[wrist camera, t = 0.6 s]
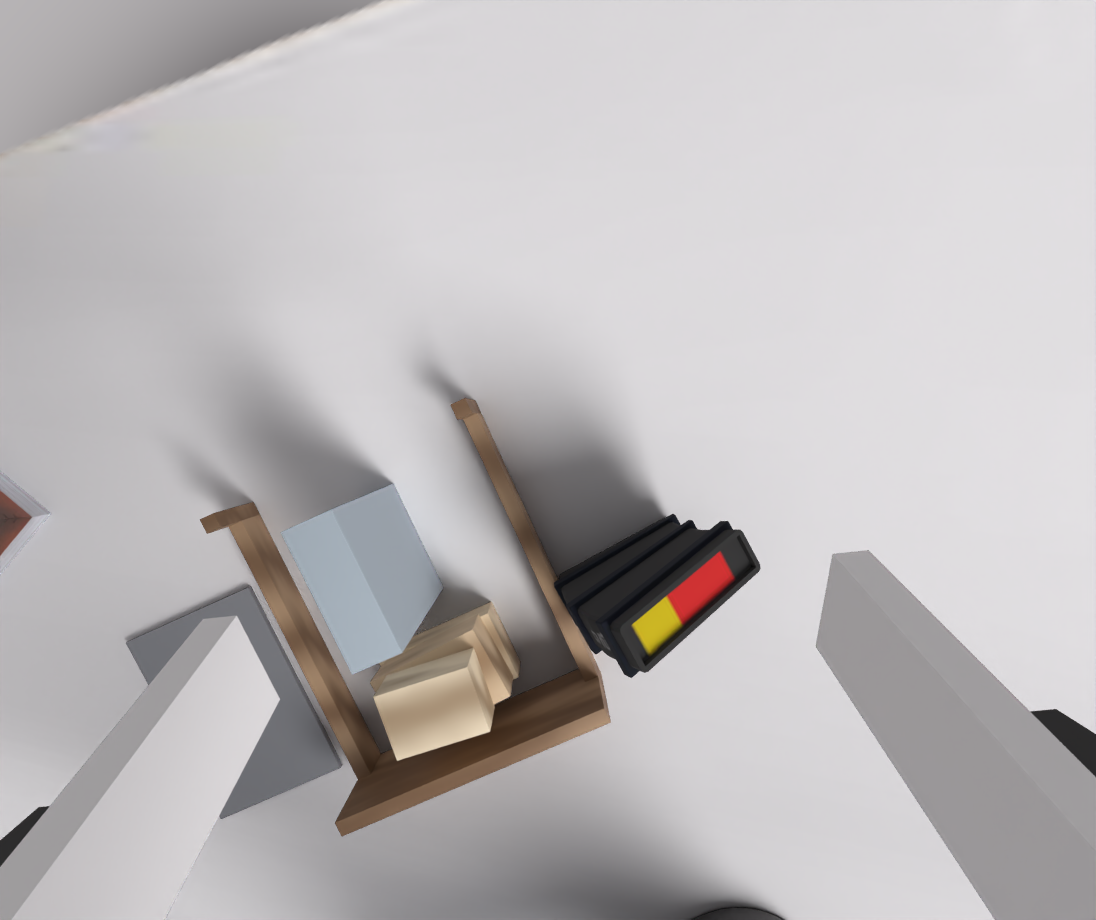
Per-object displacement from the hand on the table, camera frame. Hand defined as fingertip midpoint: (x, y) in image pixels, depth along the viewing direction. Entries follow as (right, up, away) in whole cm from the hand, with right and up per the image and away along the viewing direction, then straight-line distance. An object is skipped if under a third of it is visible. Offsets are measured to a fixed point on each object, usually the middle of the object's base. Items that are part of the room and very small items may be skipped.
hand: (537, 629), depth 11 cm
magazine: (+7, -4, +31) cm, 33 cm away
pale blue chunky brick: (-13, -3, +31) cm, 34 cm away
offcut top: (-8, -14, +27) cm, 31 cm away
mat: (-27, -18, +33) cm, 46 cm away
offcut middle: (-8, -13, +30) cm, 34 cm away
